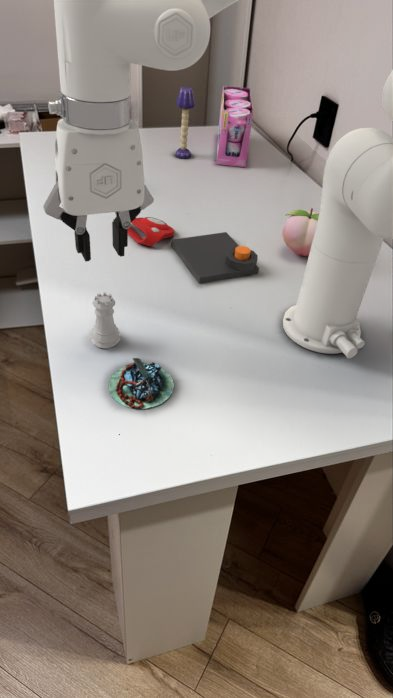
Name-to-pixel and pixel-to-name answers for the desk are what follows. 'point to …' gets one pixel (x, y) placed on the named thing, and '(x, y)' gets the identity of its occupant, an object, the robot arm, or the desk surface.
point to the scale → (213, 257)
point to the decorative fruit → (300, 230)
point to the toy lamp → (184, 119)
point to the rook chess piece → (104, 322)
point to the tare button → (242, 253)
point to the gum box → (234, 126)
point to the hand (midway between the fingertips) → (102, 252)
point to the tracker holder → (150, 230)
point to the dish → (141, 385)
